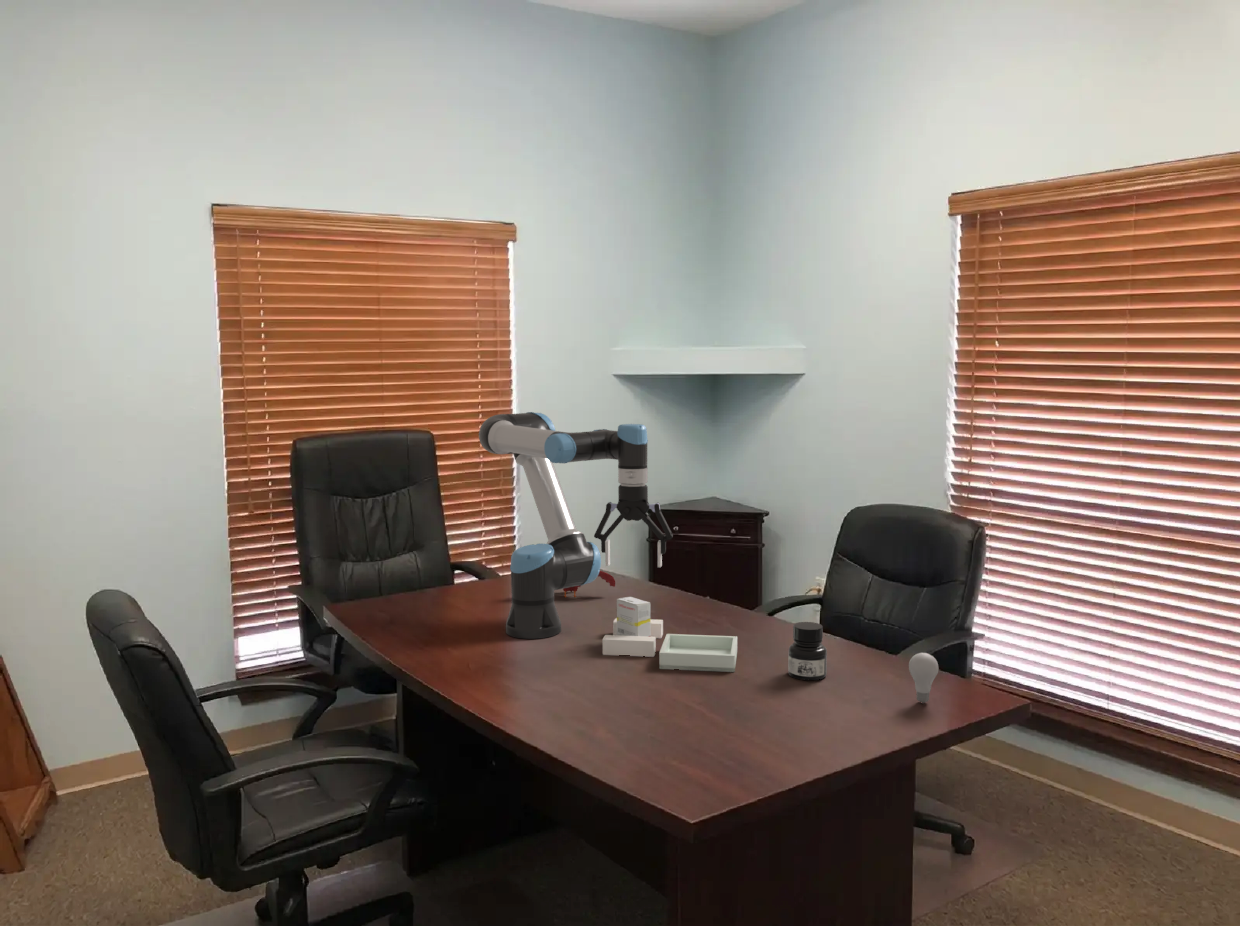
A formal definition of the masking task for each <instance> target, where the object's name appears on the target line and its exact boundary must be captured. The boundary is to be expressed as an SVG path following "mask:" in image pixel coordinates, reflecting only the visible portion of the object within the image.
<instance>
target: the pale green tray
mask: <svg viewBox="0 0 1240 926" xmlns="http://www.w3.org/2000/svg"><path fill="white" fill-rule="evenodd" d="M658 653H659V654H658V655H659V657H658V659H659V668H658V669H660V670H674V669H679V670H678V671H680V670H681V671H700V672H724V673H725V672H727V673H735V672H736V664H737V658H738V657H737V656H738V636H737V635H736V636H734V635H733V636H732V635H708V634H706V635H705V634H684V633H683V634H681V633H679V634H678V633H666V635H665V638H664V640H663V642H662V645H661V647H660V650H659V652H658Z"/></svg>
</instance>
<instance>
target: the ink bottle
mask: <svg viewBox="0 0 1240 926" xmlns="http://www.w3.org/2000/svg"><path fill="white" fill-rule="evenodd" d="M823 630H824V627H823V625H822V624H821V623H818V622H814V621H800V622H795V623H793V626H792V639H793V643H792V644H790V645H789V647H788V661H787V662H788V663H787V666H788V667H787V669H788V675H789V676H790V677H791V678H793V679H796V680H800V679H802V680H801V681H809V680H814V681H820V680H822V679H824V678H826V676H827V674H828V673H827V670H828V669H827V668H828V667H827V664H828V660H827V659H828V651H827V650H828V649H827V647H826V646H825V645H823V643H822V642H823V637H824V636H823V635H824V634H823V632H824V631H823ZM819 679H820V680H819Z"/></svg>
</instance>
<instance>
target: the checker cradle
mask: <svg viewBox="0 0 1240 926" xmlns="http://www.w3.org/2000/svg"><path fill="white" fill-rule="evenodd" d="M650 633H651V636H650V637H648V636H622V635H617V617H616V618H614V619H613V622H612V634H605V635H604V636H603V638H602V656H619V655H630V656H629V657H643V656H645V658H647V657H649V658H654V657H655V655H656V653H655V652H656V651H657V647H656V646H657V643H656V642H657V641H656V640H657V639H662V637H663V635H664V620H663V619H656V618H655V619H652V618H650Z"/></svg>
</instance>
